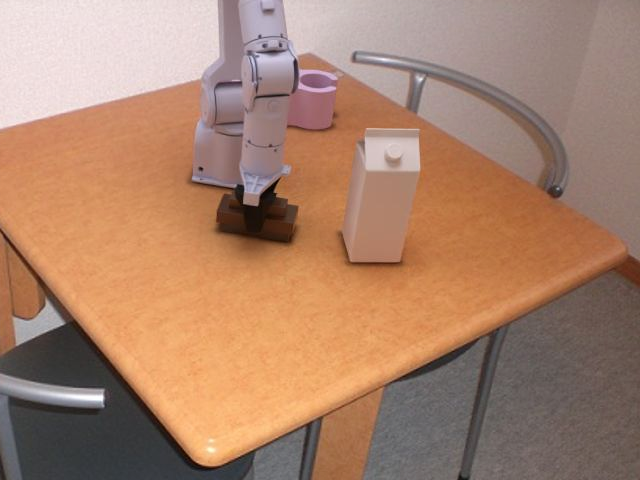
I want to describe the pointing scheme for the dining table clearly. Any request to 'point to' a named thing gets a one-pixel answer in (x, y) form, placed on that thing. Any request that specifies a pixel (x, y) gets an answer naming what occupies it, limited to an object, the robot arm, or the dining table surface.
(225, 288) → the dining table surface
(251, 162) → the robot arm
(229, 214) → the brush
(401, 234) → the milk carton
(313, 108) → the clip
